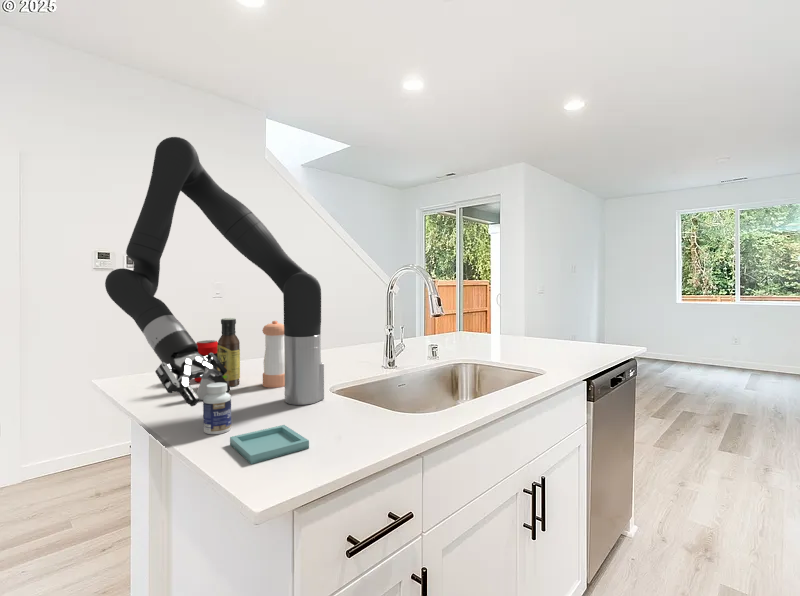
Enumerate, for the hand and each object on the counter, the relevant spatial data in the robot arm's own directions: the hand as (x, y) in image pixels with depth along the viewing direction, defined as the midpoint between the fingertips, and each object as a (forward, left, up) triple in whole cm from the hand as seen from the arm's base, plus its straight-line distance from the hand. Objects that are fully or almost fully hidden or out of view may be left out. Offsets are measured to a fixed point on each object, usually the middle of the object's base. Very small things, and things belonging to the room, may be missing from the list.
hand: (212, 398), depth 90 cm
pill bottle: (-1, +1, -7) cm, 7 cm away
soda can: (-12, -47, -7) cm, 49 cm away
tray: (-6, +16, -7) cm, 18 cm away
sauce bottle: (-15, -36, -7) cm, 39 cm away
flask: (-7, -26, -7) cm, 28 cm away
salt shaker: (-26, -28, -7) cm, 38 cm away
